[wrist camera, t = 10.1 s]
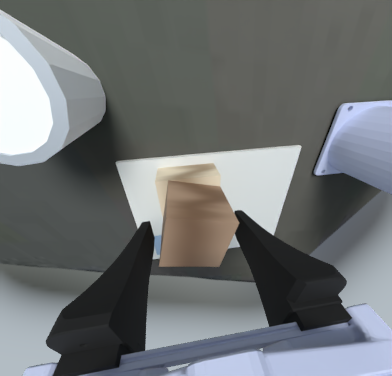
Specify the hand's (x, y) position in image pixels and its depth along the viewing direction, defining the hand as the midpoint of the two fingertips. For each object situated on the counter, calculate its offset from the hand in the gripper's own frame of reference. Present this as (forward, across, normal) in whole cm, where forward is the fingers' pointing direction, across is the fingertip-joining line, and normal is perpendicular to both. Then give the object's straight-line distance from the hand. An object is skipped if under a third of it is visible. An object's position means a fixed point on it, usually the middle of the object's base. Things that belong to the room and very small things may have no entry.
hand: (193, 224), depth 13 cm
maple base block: (+6, 0, 0) cm, 6 cm away
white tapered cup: (+6, +9, -10) cm, 15 cm away
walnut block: (+3, 0, 0) cm, 3 cm away
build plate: (+6, -3, +4) cm, 8 cm away
